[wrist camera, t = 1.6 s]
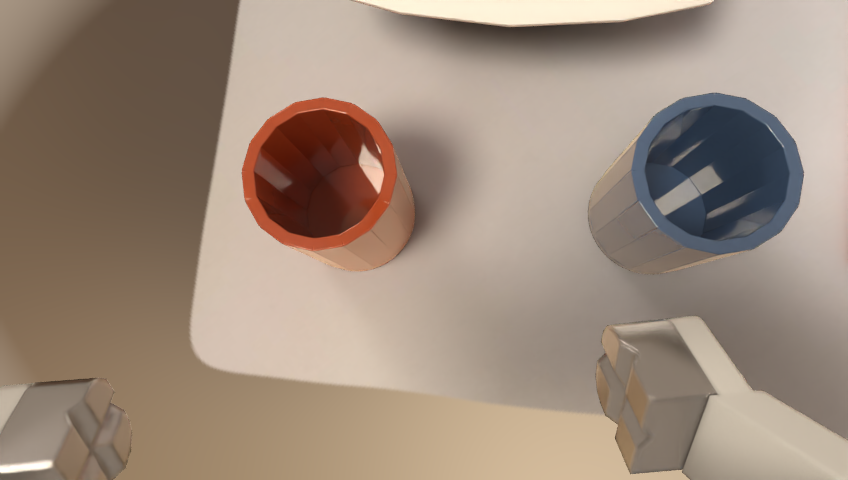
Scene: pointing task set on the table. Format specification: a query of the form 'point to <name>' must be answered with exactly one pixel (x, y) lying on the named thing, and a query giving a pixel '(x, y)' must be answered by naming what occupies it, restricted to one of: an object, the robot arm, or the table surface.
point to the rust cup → (329, 185)
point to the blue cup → (697, 186)
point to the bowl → (535, 10)
